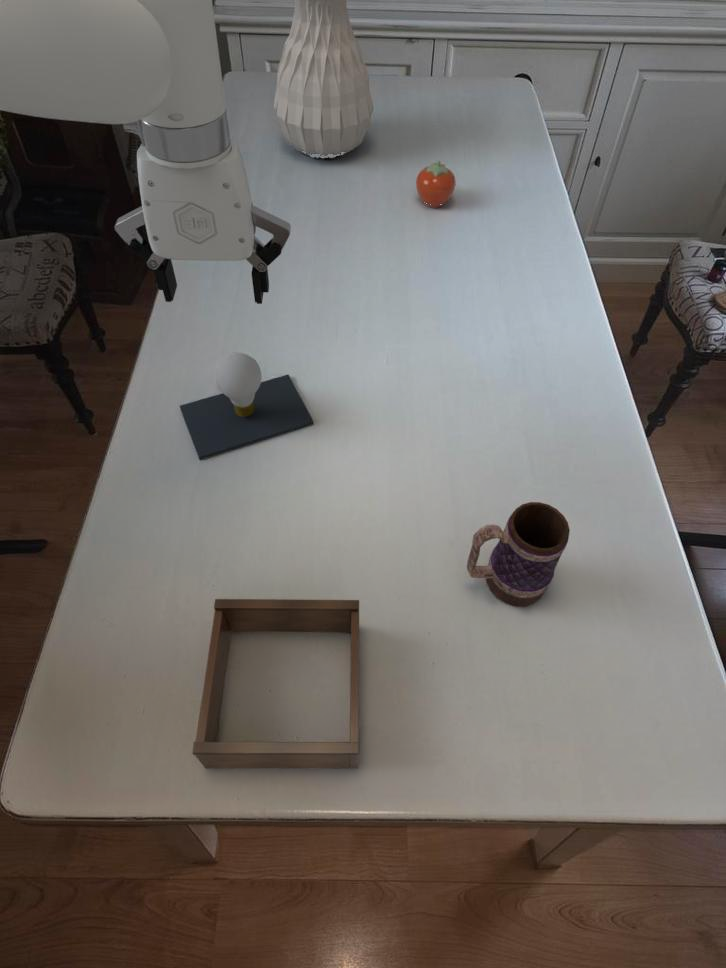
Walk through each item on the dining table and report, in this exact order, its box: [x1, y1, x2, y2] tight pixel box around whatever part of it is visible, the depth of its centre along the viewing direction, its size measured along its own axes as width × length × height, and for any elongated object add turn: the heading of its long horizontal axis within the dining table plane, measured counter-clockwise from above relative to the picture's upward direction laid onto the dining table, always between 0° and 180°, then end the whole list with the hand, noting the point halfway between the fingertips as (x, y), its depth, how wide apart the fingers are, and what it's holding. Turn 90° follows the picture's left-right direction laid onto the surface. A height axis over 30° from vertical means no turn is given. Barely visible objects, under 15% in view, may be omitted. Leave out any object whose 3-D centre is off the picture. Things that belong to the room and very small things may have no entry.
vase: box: [273, 0, 374, 158], centre depth 120 cm, size 20×20×30 cm
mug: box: [466, 501, 571, 607], centre depth 68 cm, size 10×7×12 cm
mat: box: [179, 374, 315, 461], centre depth 86 cm, size 16×10×1 cm, turn 114°
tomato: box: [415, 159, 457, 209], centre depth 117 cm, size 7×7×8 cm
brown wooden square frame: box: [191, 598, 360, 769], centre depth 62 cm, size 15×15×6 cm
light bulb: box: [214, 352, 262, 417], centre depth 82 cm, size 6×6×10 cm
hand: (215, 295), depth 69 cm, fingers open, 9 cm apart
